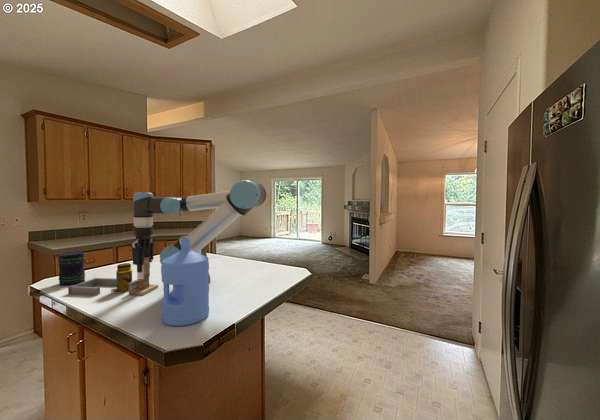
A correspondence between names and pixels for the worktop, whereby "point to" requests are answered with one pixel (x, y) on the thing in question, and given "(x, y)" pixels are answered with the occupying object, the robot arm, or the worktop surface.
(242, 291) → the worktop surface
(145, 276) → the scraper
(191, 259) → the water jug
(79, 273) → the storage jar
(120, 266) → the condiment
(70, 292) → the tray
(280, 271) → the worktop surface
